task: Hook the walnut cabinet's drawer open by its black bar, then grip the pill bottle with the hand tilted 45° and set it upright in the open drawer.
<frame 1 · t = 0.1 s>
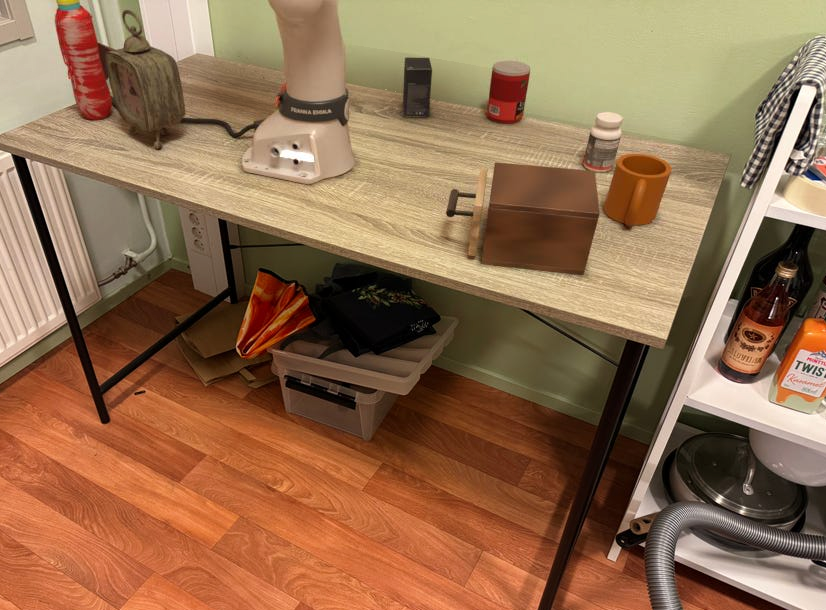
box: (415, 111, 155), on the table
canned food: (504, 118, 152), on the table
pill bottle: (597, 167, 133), on the table
cabinet: (532, 246, 112), on the table
mug: (626, 217, 119), on the table
drawer: (506, 214, 109), point 5 cm above the table, slide at 1.0 cm
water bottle: (102, 114, 155), on the table
tabletop clock: (157, 138, 145), on the table
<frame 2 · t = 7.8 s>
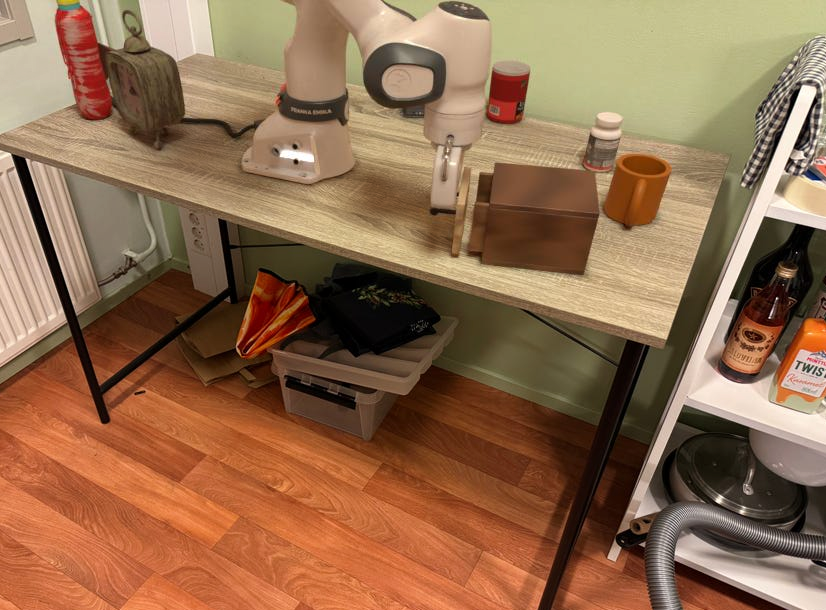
hand: (445, 206, 111), 6 cm above the table, tool pointing down, fingers closed
drawer: (490, 212, 109), point 5 cm above the table, slide at 3.6 cm, touching gripper
everything else where it was.
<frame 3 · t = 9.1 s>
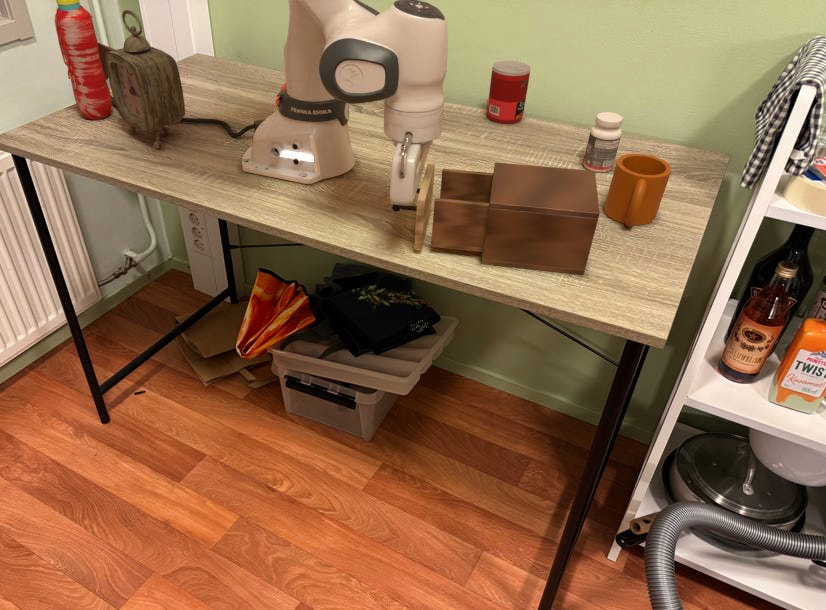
hand: (409, 203, 111), 6 cm above the table, tool pointing down, fingers closed, pressing on drawer
drawer: (452, 208, 110), point 5 cm above the table, slide at 9.7 cm, touching gripper
everything else where it was.
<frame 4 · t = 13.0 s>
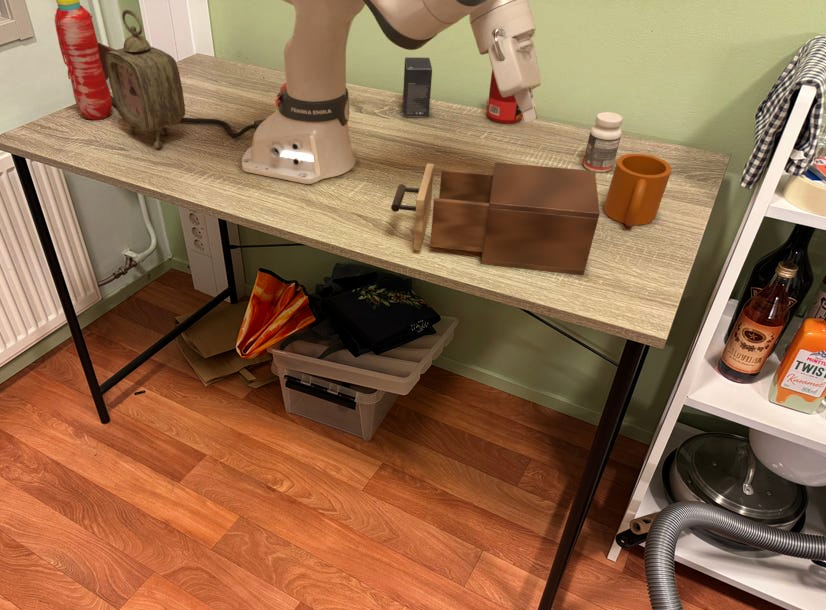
hand: (532, 120, 106), 18 cm above the table, tool tilted 35°, fingers closed
drawer: (451, 208, 110), point 5 cm above the table, slide at 9.8 cm
everything else where it was.
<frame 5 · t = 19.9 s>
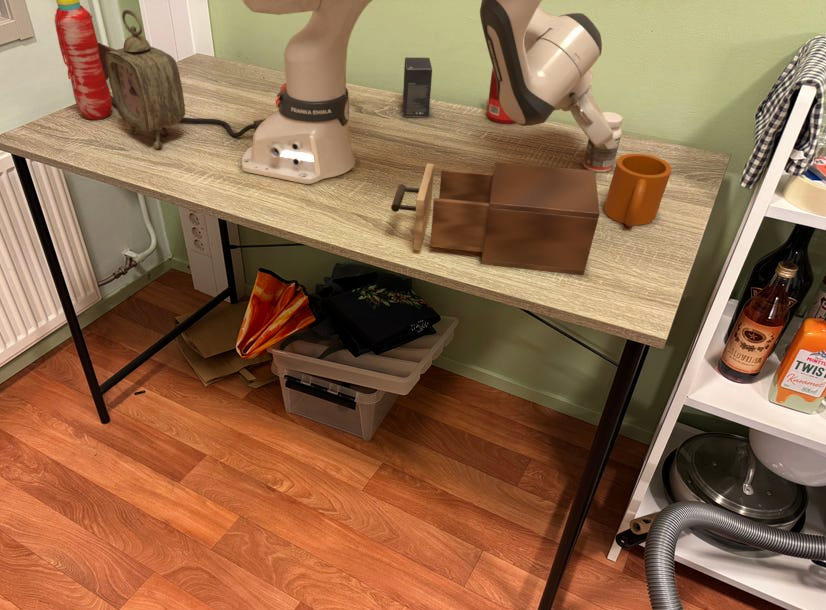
hand: (608, 137, 129), 6 cm above the table, tool tilted 45°, fingers closed on pill bottle, 6 cm apart
pill bottle: (597, 167, 133), on the table, touching gripper
everything else where it was.
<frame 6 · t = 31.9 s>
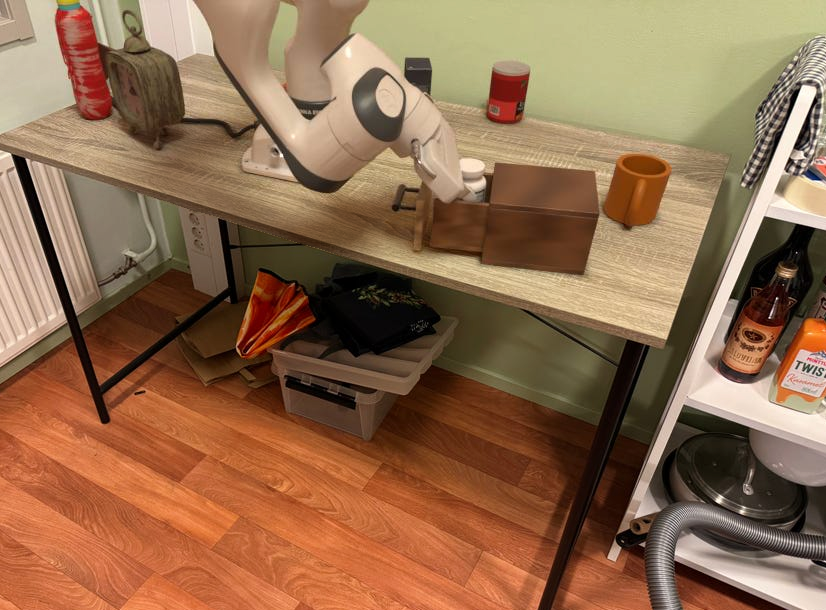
hand: (471, 188, 107), 9 cm above the table, tool tilted 45°, fingers closed on pill bottle, 6 cm apart
pill bottle: (463, 222, 111), point 3 cm above the table, touching gripper
everything else where it was.
when the fingers open (10 cm above the table, at t = 36.5 s): pill bottle stays where it is, resting on drawer.
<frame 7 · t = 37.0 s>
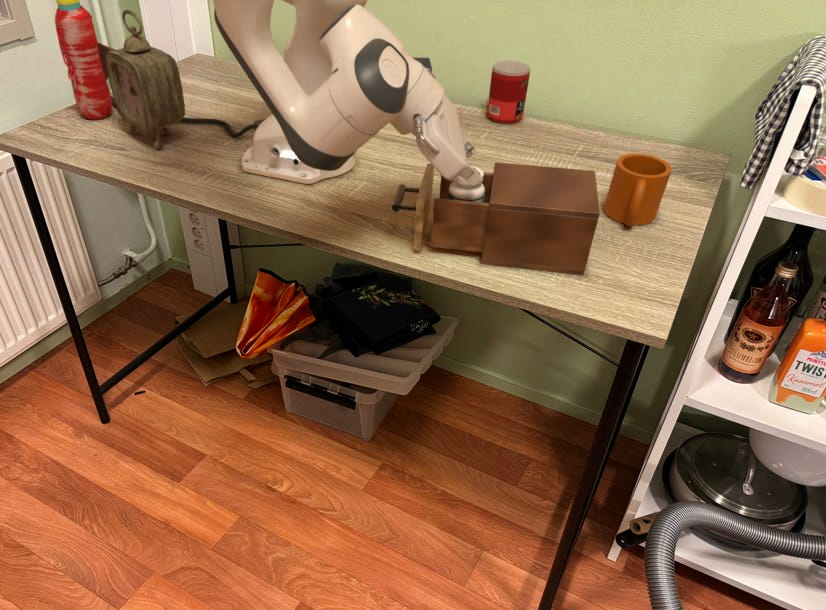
hand: (474, 166, 105), 13 cm above the table, tool tilted 45°, fingers open, 8 cm apart
pill bottle: (462, 228, 112), point 2 cm above the table, touching drawer
drawer: (451, 208, 110), point 5 cm above the table, slide at 9.8 cm, touching pill bottle
everything else where it was.
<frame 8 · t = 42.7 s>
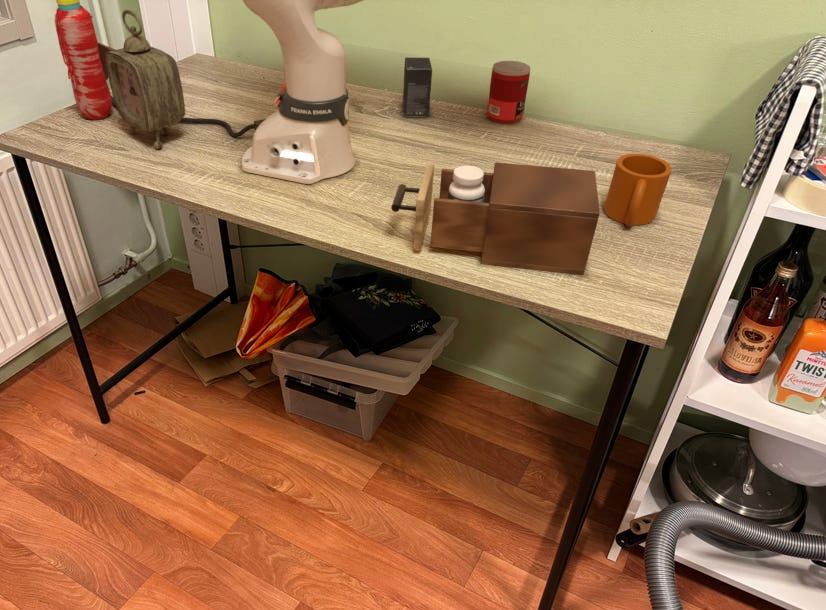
nothing on the table moved.
at the end: drawer slide at 9.8 cm; pill bottle inside the target area in the drawer (0.8 cm from its centre), point 1.9 cm above the cabinet's base; pill bottle tilted 0° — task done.
